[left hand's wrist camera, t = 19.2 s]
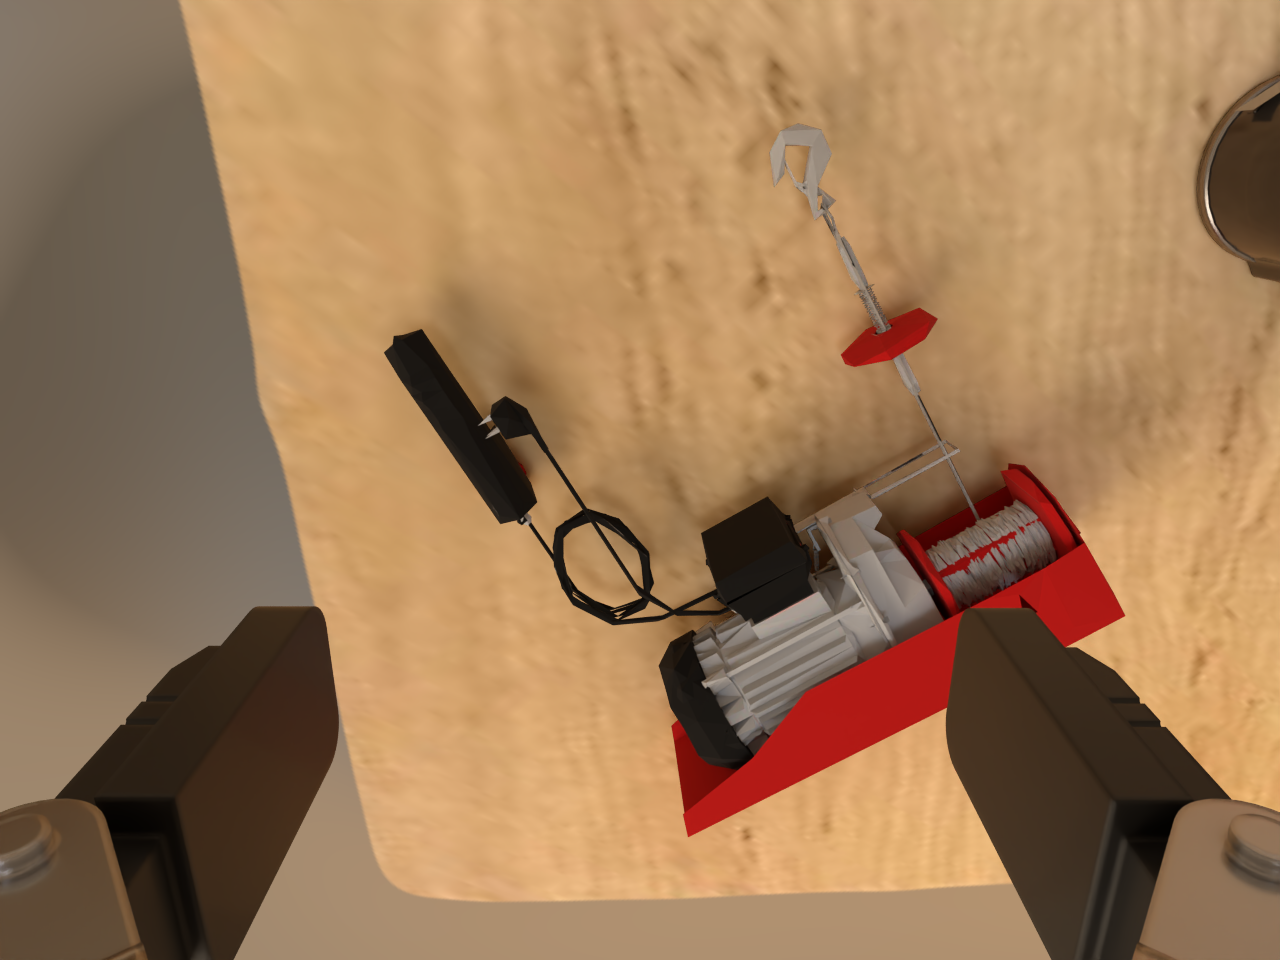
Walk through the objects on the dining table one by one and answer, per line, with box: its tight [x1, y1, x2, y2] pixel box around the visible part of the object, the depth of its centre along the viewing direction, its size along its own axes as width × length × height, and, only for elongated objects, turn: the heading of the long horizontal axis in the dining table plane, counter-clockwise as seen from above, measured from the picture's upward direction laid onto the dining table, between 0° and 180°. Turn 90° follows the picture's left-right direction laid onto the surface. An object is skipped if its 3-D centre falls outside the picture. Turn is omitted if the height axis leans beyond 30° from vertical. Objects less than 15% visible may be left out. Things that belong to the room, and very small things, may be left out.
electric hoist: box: [384, 124, 1125, 837], centre depth 47 cm, size 10×27×30 cm
